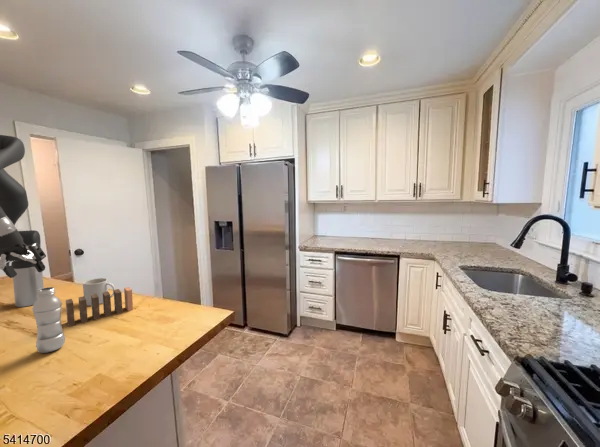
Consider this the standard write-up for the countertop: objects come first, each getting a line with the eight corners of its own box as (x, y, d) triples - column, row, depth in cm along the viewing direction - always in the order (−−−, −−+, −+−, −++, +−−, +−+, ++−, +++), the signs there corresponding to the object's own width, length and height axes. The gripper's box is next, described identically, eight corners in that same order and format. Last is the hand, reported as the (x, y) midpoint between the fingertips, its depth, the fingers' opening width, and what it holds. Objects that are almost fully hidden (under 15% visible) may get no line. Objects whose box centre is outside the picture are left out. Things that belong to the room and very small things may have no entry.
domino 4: (106, 316, 104) (104, 295, 103) (103, 313, 107) (102, 292, 106) (111, 315, 105) (110, 294, 104) (109, 311, 108) (107, 291, 107)
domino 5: (117, 313, 106) (116, 293, 105) (114, 310, 110) (113, 290, 109) (122, 312, 108) (121, 292, 107) (119, 308, 111) (118, 289, 110)
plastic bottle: (70, 346, 83) (65, 286, 81) (44, 358, 77) (38, 294, 75) (58, 342, 85) (53, 284, 83) (31, 353, 79) (25, 291, 77)
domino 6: (128, 311, 109) (127, 290, 108) (125, 307, 113) (124, 287, 112) (132, 309, 110) (131, 289, 110) (129, 306, 114) (129, 286, 113)
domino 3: (94, 320, 101) (92, 298, 100) (92, 315, 104) (90, 294, 103) (100, 318, 102) (98, 296, 101) (97, 314, 106) (96, 293, 105)
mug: (79, 303, 116) (78, 282, 115) (102, 296, 125) (101, 276, 124) (94, 308, 112) (93, 286, 111) (117, 300, 120) (115, 279, 120)
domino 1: (68, 326, 95) (66, 303, 95) (67, 322, 99) (65, 299, 98) (74, 325, 97) (73, 302, 96) (73, 320, 100) (71, 298, 99)
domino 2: (81, 323, 98) (80, 300, 97) (80, 319, 102) (78, 297, 101) (87, 321, 99) (86, 299, 99) (86, 317, 103) (84, 296, 102)
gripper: (33, 223, 85) (58, 263, 92) (-17, 231, 82) (12, 271, 90) (16, 233, 78) (44, 275, 85) (-39, 242, 76) (-6, 285, 83)
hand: (28, 273), depth 87 cm, fingers open, 8 cm apart
